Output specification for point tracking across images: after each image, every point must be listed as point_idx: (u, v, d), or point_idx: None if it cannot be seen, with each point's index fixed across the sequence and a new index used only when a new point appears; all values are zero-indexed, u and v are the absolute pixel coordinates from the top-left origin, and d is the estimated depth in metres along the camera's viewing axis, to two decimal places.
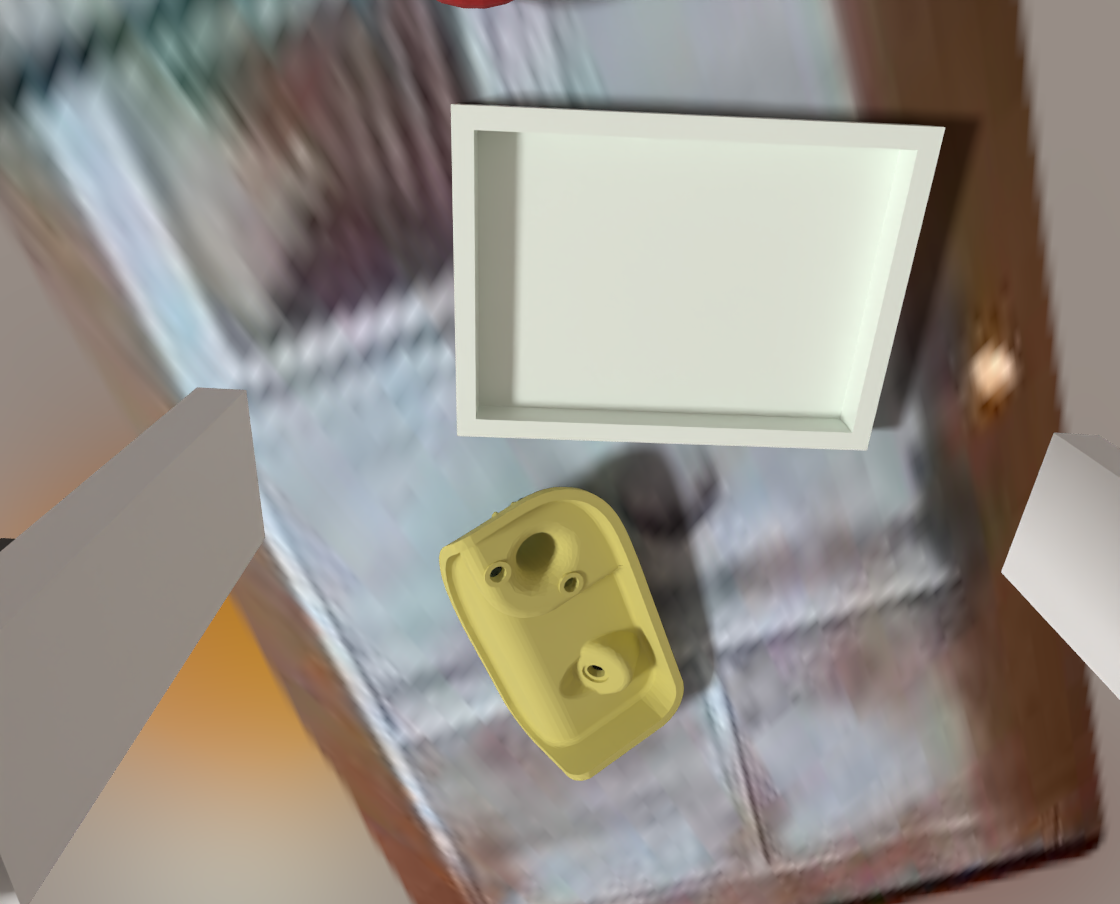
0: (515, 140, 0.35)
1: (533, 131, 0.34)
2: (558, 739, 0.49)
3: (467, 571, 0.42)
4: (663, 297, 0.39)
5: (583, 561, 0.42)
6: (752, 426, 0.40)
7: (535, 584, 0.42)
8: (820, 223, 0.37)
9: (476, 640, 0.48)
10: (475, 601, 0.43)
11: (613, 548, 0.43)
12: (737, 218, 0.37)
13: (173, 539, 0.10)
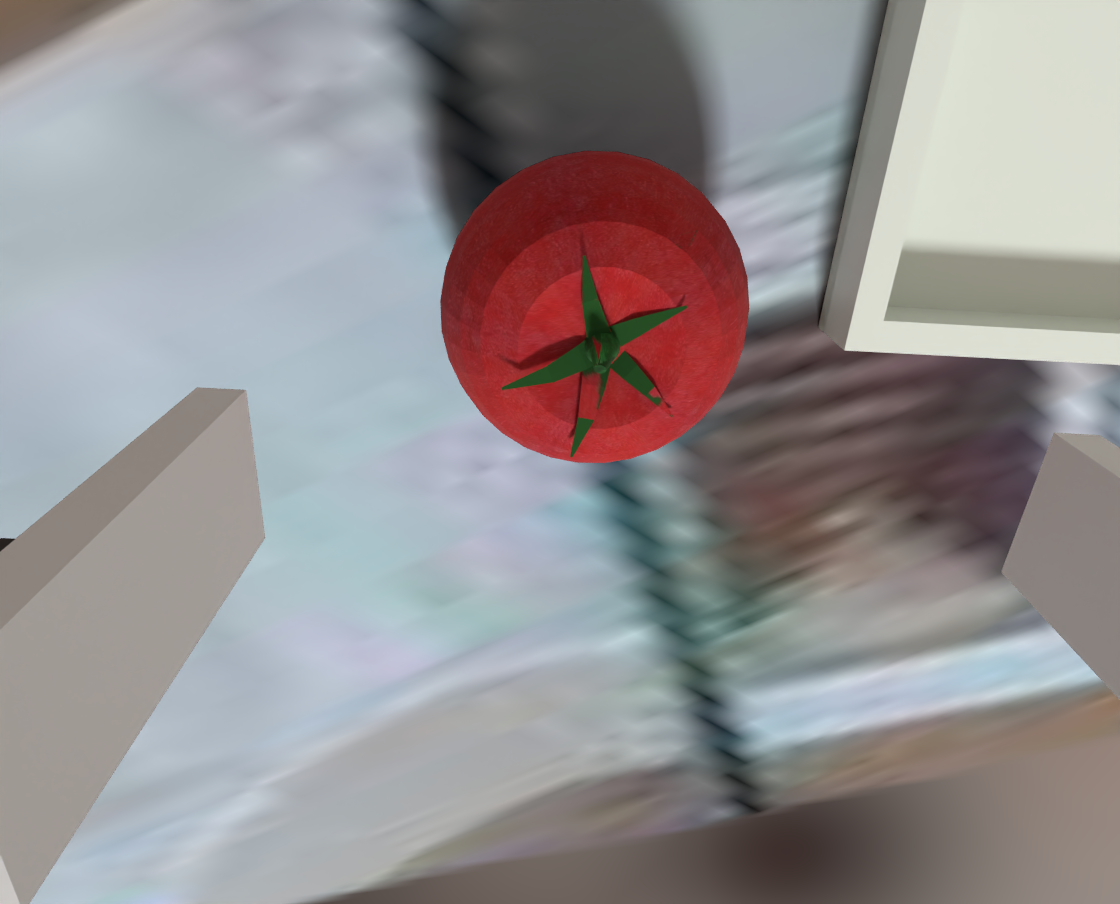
0: None
1: (903, 232, 0.22)
2: None
3: None
4: None
5: None
6: None
7: None
8: None
9: None
10: None
11: None
12: None
13: (173, 539, 0.10)
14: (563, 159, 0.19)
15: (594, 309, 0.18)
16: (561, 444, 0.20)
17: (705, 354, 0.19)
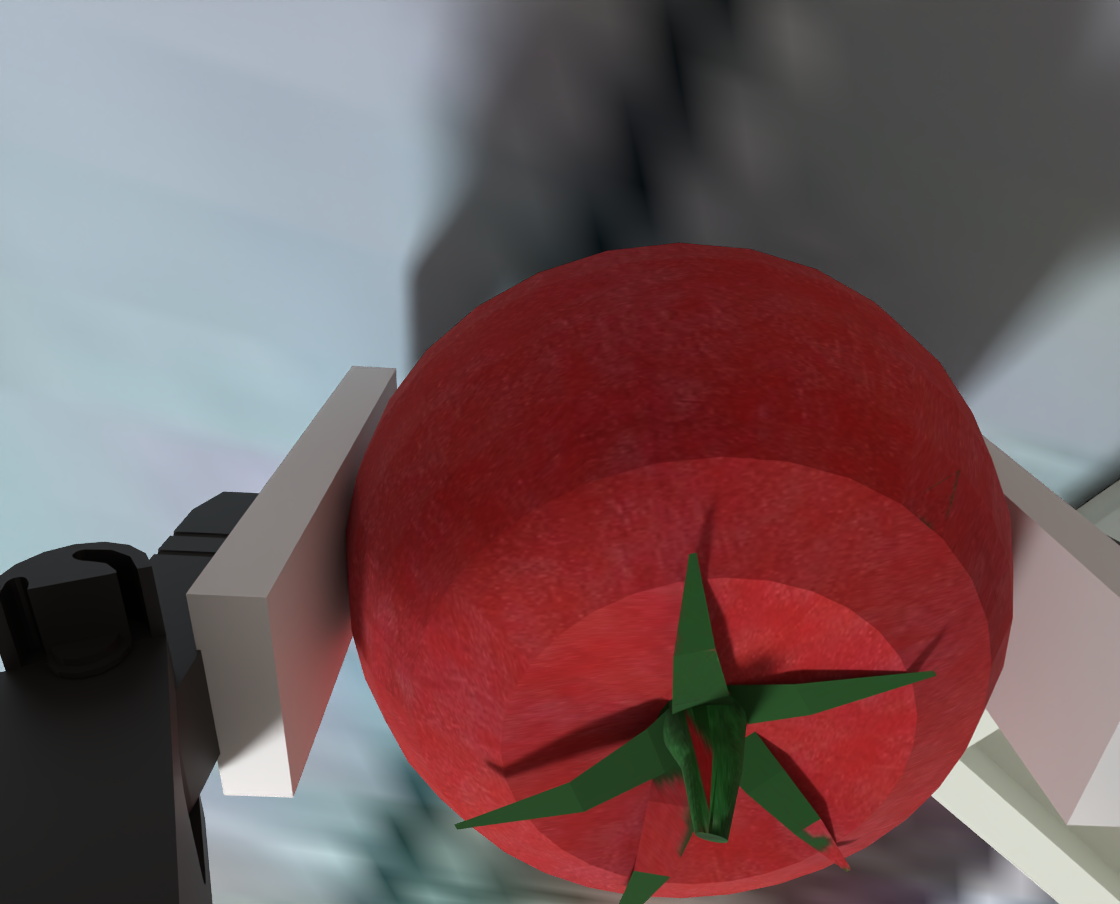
0: None
1: None
2: None
3: None
4: None
5: None
6: None
7: None
8: None
9: None
10: None
11: None
12: None
13: None
14: (634, 264, 0.08)
15: (701, 667, 0.07)
16: (587, 883, 0.09)
17: (943, 751, 0.08)
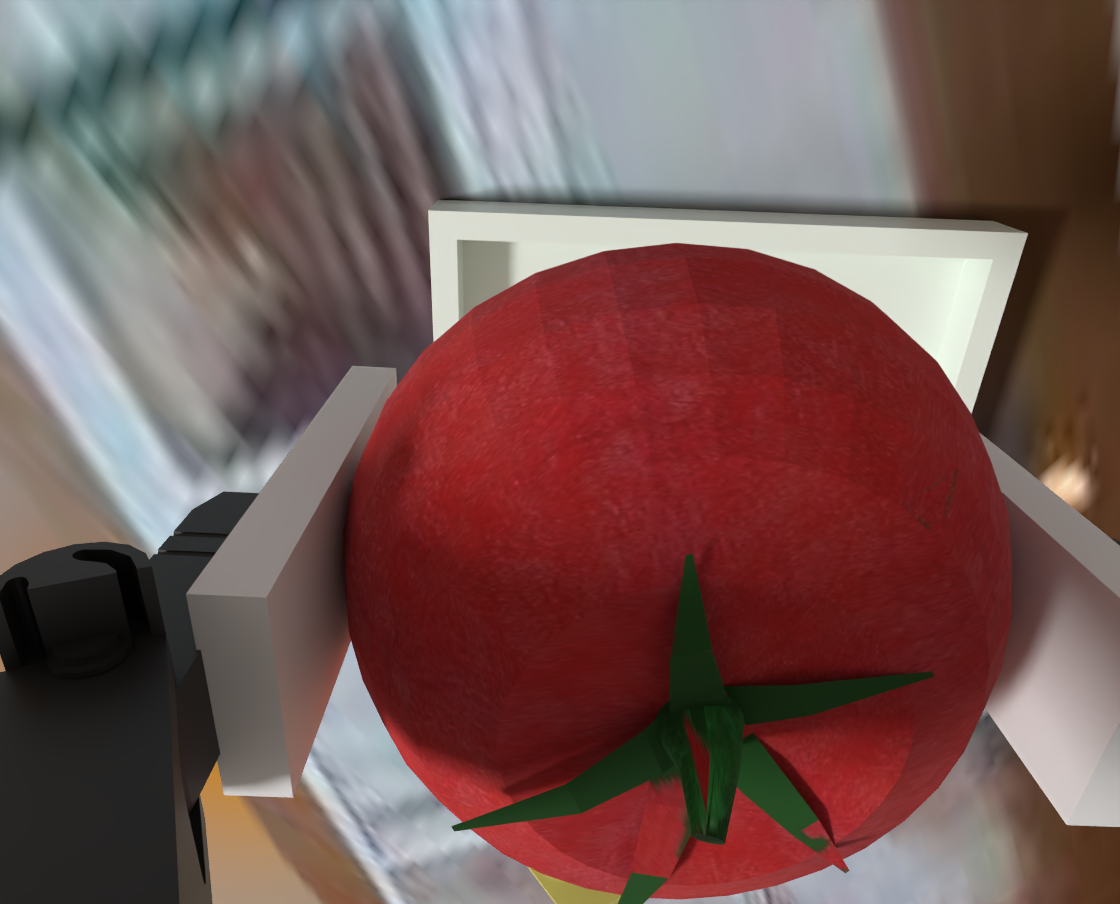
0: (507, 243, 0.30)
1: (528, 240, 0.28)
2: None
3: None
4: None
5: None
6: None
7: None
8: None
9: None
10: None
11: None
12: None
13: None
14: (631, 265, 0.08)
15: (698, 668, 0.07)
16: (584, 885, 0.09)
17: (941, 750, 0.08)
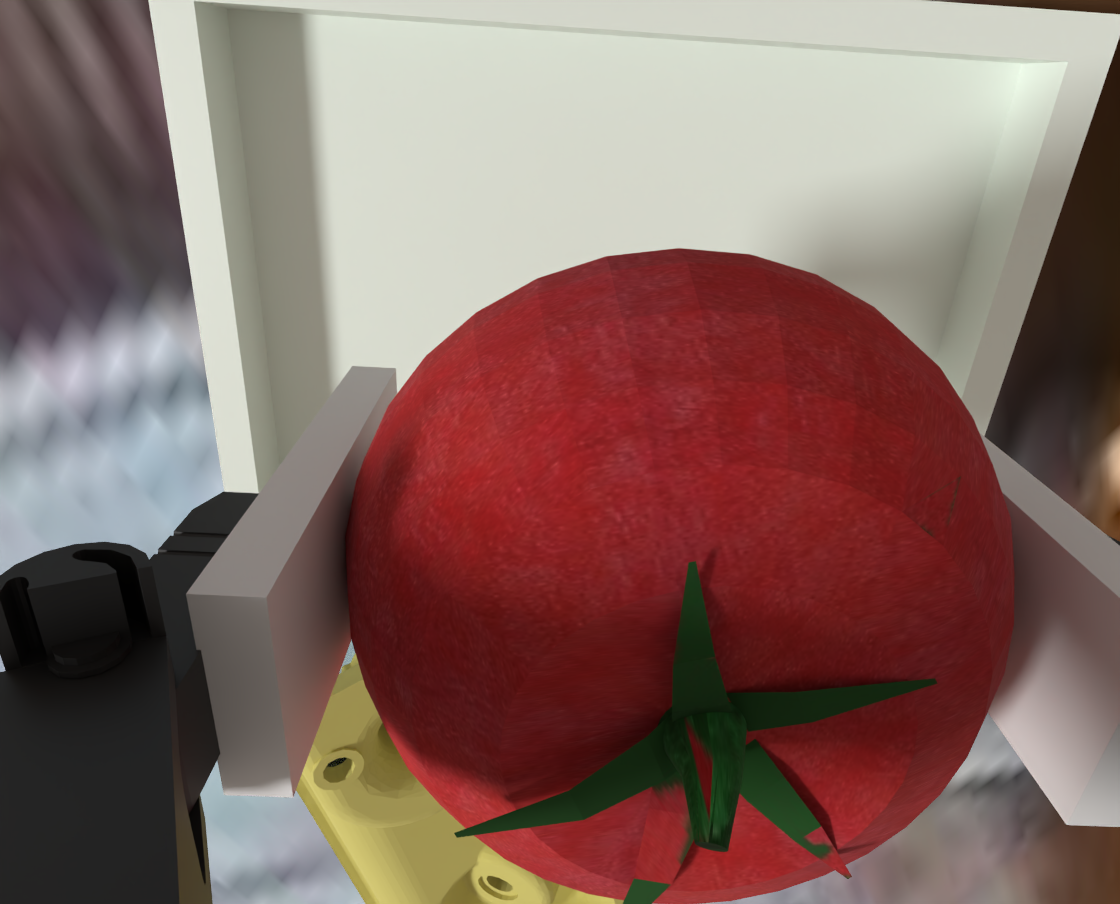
0: (301, 35, 0.19)
1: (313, 6, 0.17)
2: None
3: None
4: None
5: None
6: None
7: (407, 777, 0.25)
8: (867, 204, 0.21)
9: (320, 816, 0.31)
10: None
11: None
12: (719, 193, 0.20)
13: None
14: (633, 270, 0.08)
15: (701, 674, 0.07)
16: (587, 890, 0.09)
17: (944, 757, 0.08)
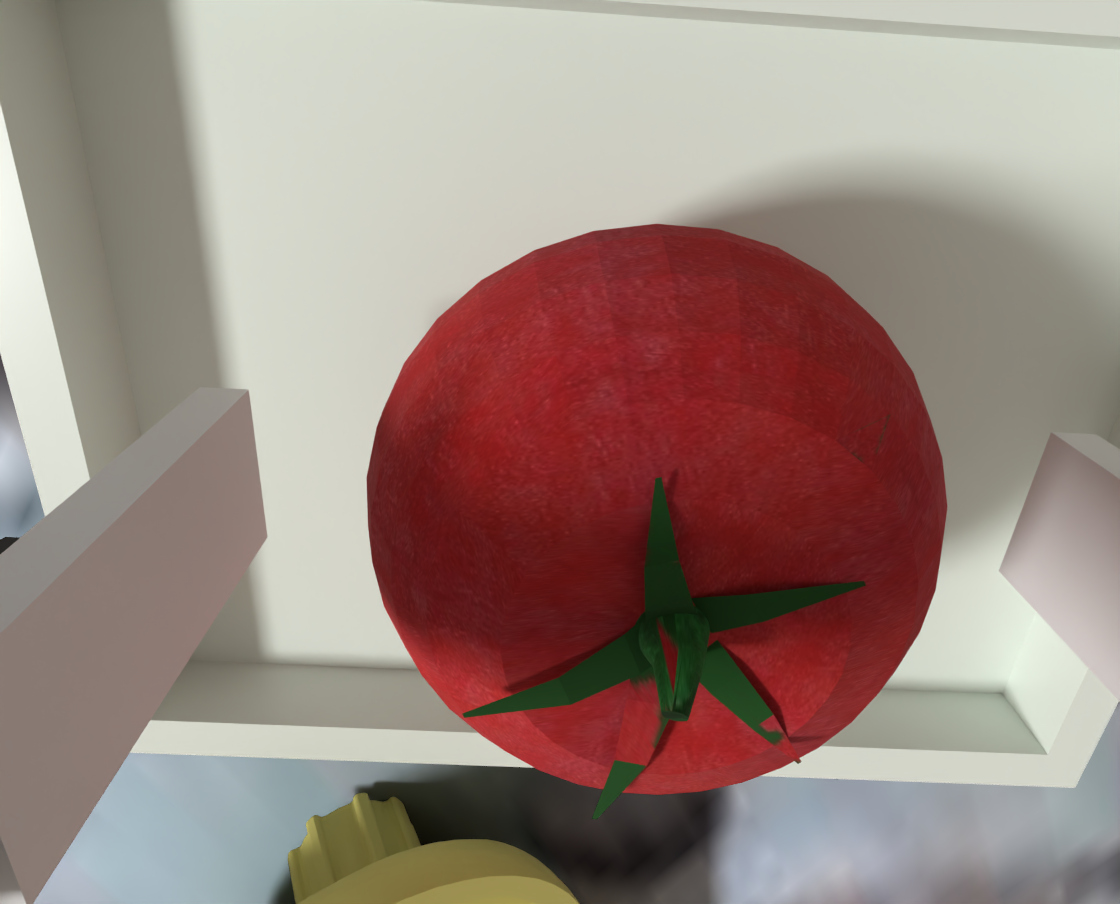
0: (167, 15, 0.12)
1: None
2: None
3: None
4: None
5: None
6: None
7: None
8: (1013, 266, 0.14)
9: None
10: None
11: None
12: (797, 250, 0.14)
13: (177, 538, 0.10)
14: (616, 242, 0.10)
15: (668, 577, 0.09)
16: (577, 779, 0.11)
17: (878, 657, 0.09)
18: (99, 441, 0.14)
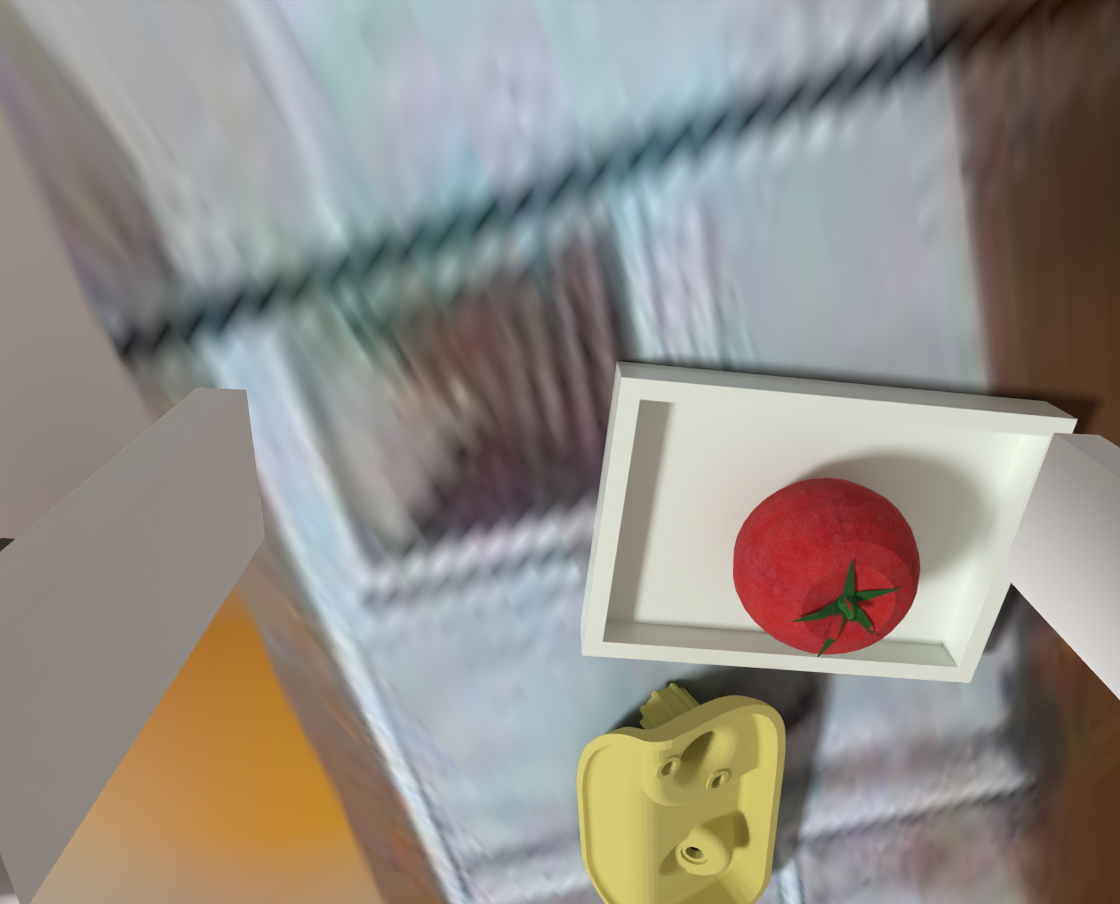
0: None
1: (695, 403, 0.35)
2: None
3: (628, 751, 0.42)
4: None
5: (734, 761, 0.43)
6: (864, 656, 0.42)
7: (689, 777, 0.42)
8: (945, 481, 0.39)
9: (585, 799, 0.48)
10: (618, 776, 0.43)
11: (761, 752, 0.44)
12: (868, 473, 0.39)
13: (173, 539, 0.10)
14: (830, 491, 0.35)
15: (850, 585, 0.33)
16: (809, 647, 0.35)
17: (901, 610, 0.34)
18: None
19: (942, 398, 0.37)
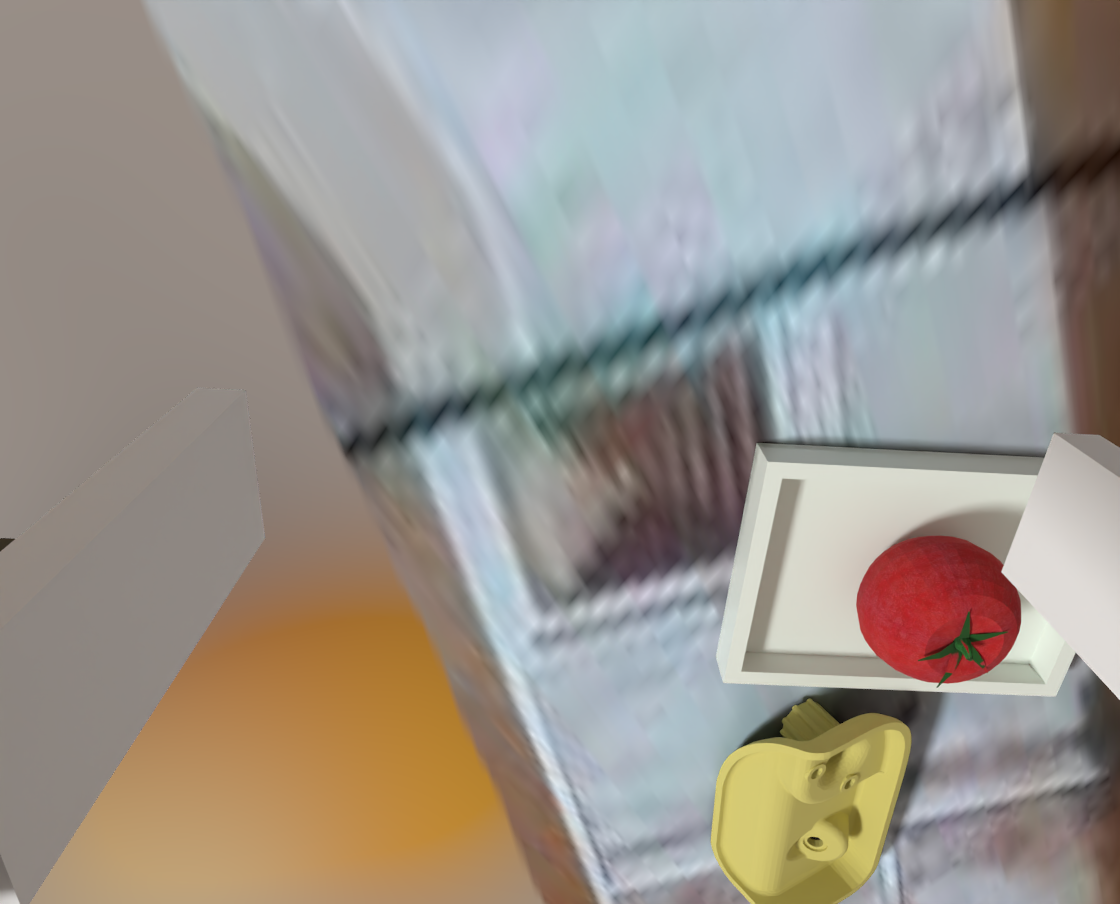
0: None
1: (828, 479, 0.42)
2: (762, 888, 0.57)
3: (778, 757, 0.49)
4: None
5: (863, 767, 0.51)
6: None
7: (827, 780, 0.50)
8: None
9: (724, 794, 0.55)
10: (764, 777, 0.51)
11: (885, 759, 0.52)
12: (969, 526, 0.46)
13: (173, 539, 0.10)
14: (945, 550, 0.42)
15: (966, 630, 0.40)
16: (928, 679, 0.42)
17: (1007, 647, 0.41)
18: None
19: (1035, 465, 0.43)
